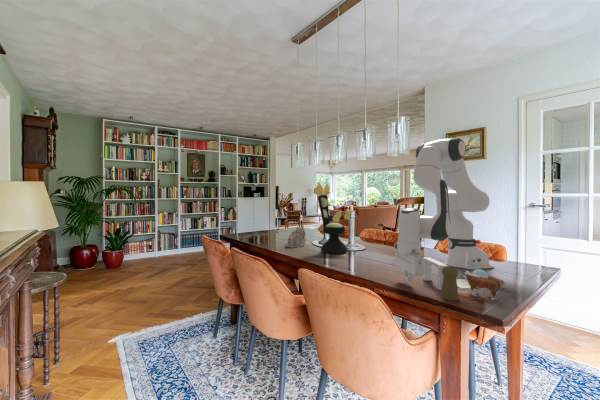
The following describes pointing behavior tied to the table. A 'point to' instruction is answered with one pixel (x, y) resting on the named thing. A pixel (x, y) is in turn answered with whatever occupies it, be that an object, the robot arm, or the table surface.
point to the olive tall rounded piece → (449, 284)
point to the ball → (480, 273)
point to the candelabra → (331, 228)
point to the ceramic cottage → (297, 238)
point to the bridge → (428, 270)
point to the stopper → (497, 280)
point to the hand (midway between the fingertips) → (408, 280)
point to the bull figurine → (482, 284)
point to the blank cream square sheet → (463, 284)
